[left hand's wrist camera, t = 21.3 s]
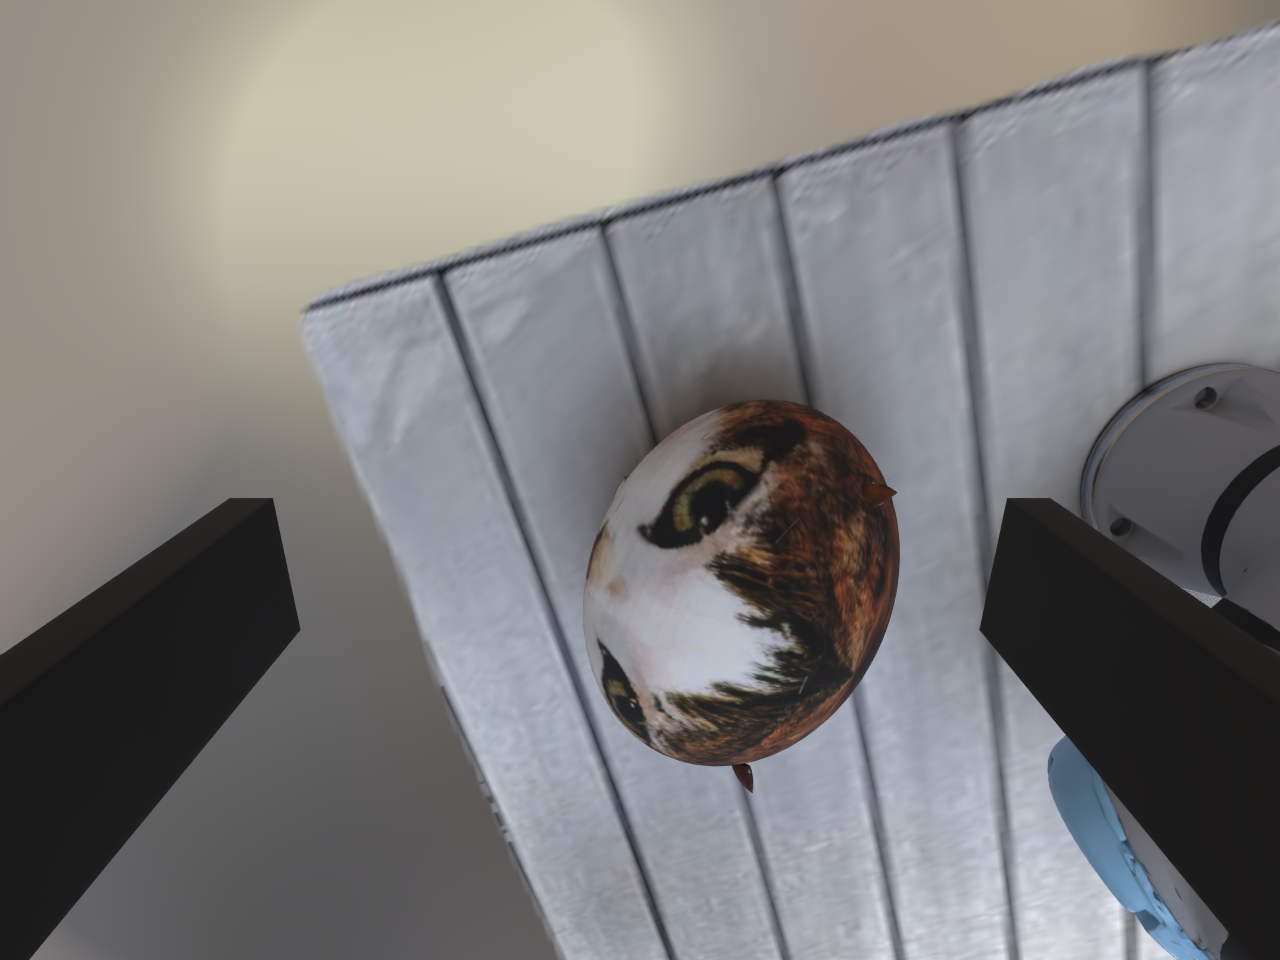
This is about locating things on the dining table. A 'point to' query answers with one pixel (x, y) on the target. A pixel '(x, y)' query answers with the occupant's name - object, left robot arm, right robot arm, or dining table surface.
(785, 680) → the cat face balloon
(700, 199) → the dining table surface
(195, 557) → the left robot arm
